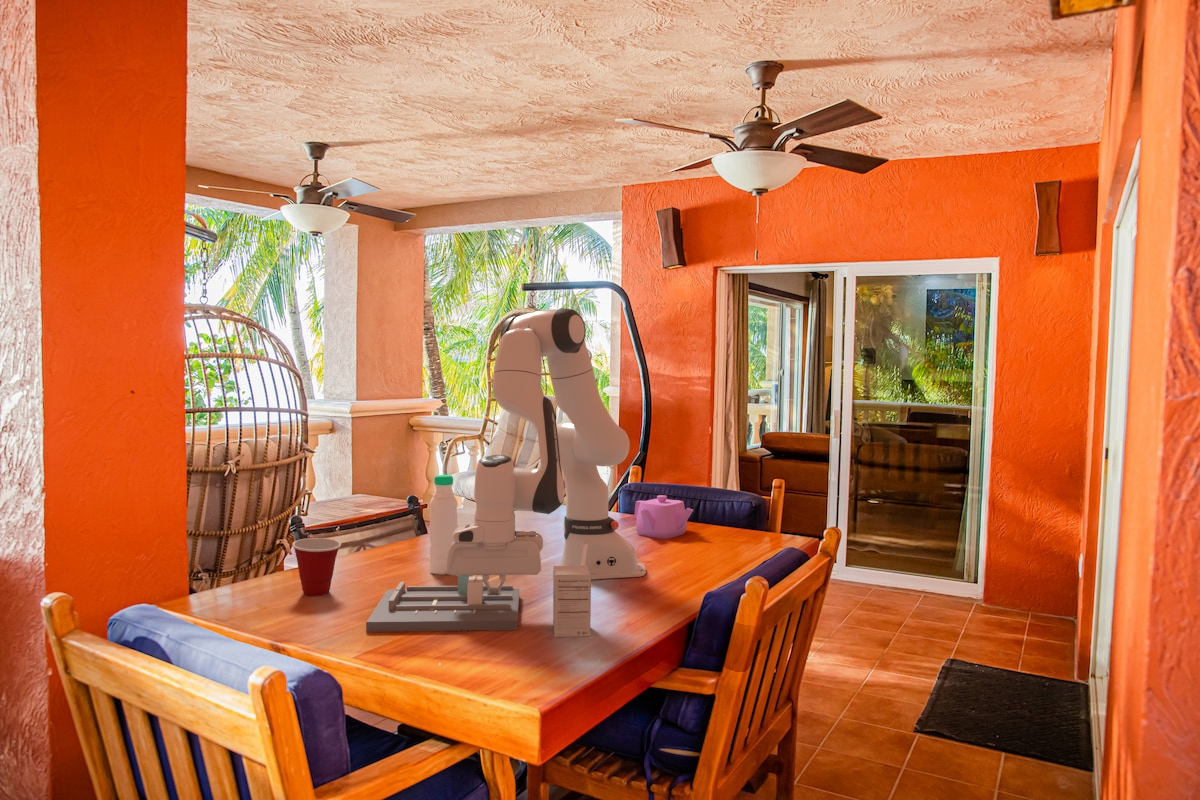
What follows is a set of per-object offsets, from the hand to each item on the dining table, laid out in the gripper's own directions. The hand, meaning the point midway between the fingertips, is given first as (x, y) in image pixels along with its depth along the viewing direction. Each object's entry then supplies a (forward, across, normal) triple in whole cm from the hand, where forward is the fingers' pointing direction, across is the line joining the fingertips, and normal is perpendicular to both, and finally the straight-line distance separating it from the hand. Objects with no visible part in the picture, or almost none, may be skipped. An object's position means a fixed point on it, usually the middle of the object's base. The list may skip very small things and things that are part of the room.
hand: (494, 594), depth 181 cm
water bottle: (+4, +14, -36) cm, 39 cm away
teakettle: (+4, -50, -83) cm, 97 cm away
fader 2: (+2, +4, 0) cm, 4 cm away
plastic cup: (+4, +42, -17) cm, 45 cm away
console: (+4, +10, 0) cm, 11 cm away
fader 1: (+2, +7, -8) cm, 11 cm away
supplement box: (+4, -16, +13) cm, 21 cm away
